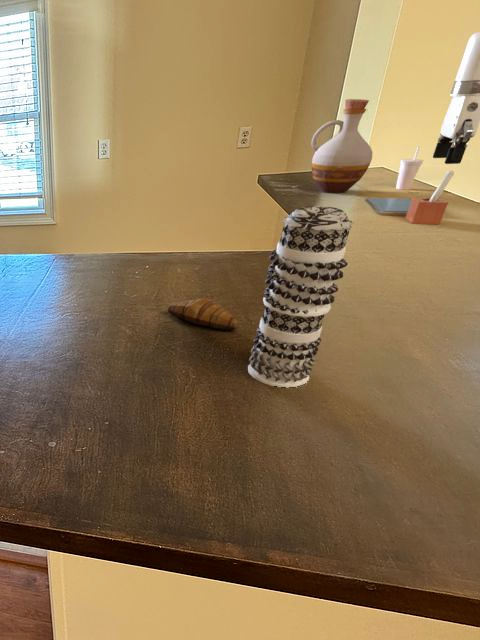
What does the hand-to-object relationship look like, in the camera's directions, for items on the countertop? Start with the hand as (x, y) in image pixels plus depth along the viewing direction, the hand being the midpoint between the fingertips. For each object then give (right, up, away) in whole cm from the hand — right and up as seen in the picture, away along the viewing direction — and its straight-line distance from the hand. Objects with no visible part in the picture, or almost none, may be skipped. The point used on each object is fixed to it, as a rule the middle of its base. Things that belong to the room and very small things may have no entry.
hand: (445, 160), depth 129 cm
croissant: (-83, -47, -38) cm, 102 cm away
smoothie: (+25, +8, +43) cm, 50 cm away
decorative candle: (-78, -57, -55) cm, 111 cm away
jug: (+2, +9, +48) cm, 49 cm away
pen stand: (+1, -14, +8) cm, 16 cm away
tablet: (+5, -6, +22) cm, 23 cm away
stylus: (0, -14, +8) cm, 16 cm away
